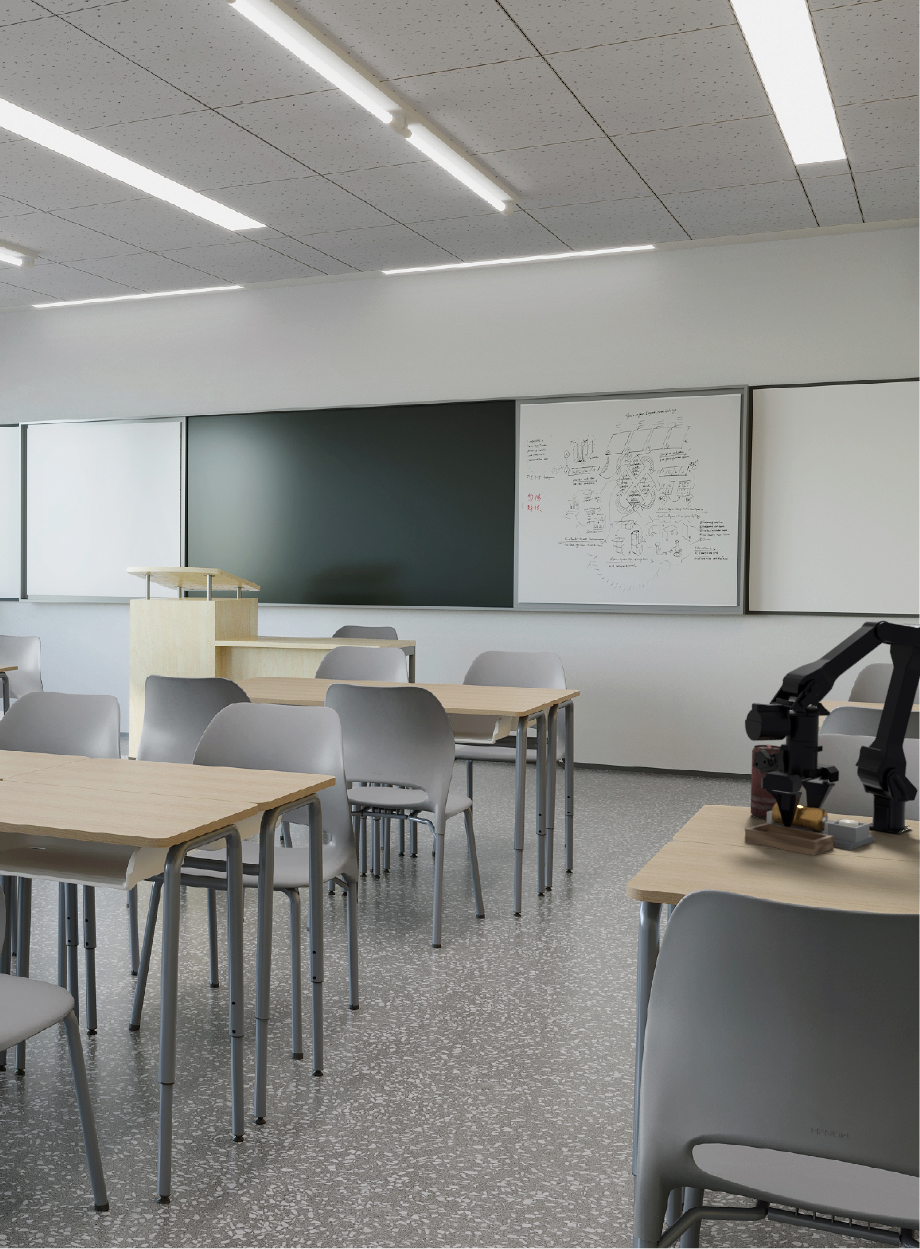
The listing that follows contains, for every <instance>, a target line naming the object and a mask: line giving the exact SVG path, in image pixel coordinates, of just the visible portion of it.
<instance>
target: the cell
mask: <svg viewBox="0 0 920 1249" xmlns="http://www.w3.org/2000/svg"><path fill="white" fill-rule="evenodd" d="M772 818H773V821H774V822H775V823H783V821H782V818H781V814H780V811H779V807H778V804H777V802H776V803H775V804H774V806H773V810H772ZM827 821H829V816H828V812H827V810H826V809H824V808H821V809H819V808H813V807H807V805H801V804H798V807H797V810H796V813H795V816H794V819H793V822H792V825H795V826H800V827H805V828H811V829H814V830H816V831H824V830H825V822H827Z"/></svg>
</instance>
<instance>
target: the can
mask: <svg viewBox="0 0 920 1249" xmlns="http://www.w3.org/2000/svg"><path fill="white" fill-rule="evenodd" d="M780 746H781V745H780ZM780 746H778V745H772V744H757V745H754V746H753V749H752V750H751V776H750V777H751V782H750V783H751V786H750V787H751V788H750V789H751V790H750V814H751V816H752V817H753V818H756V819H761V820H767V812H768V811H771V810H773V806H774V804H775V803H776V799H775V798H774V797H773V796H772V795H771V794H770V793H768V792H766V790H765V789H764V788H761V777H762V776H764V775H765V774H766V773H767V772H765V773H764V774H759V770H758V769H756V768H755V767H753V763H754V760H753V759H754V753H756V752H760V751H767V753H768V754H769V755H770V754H774V753H778V752H779V751H780ZM777 771H778V769H777ZM773 772H774V771H773ZM768 773H769V772H768Z"/></svg>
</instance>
